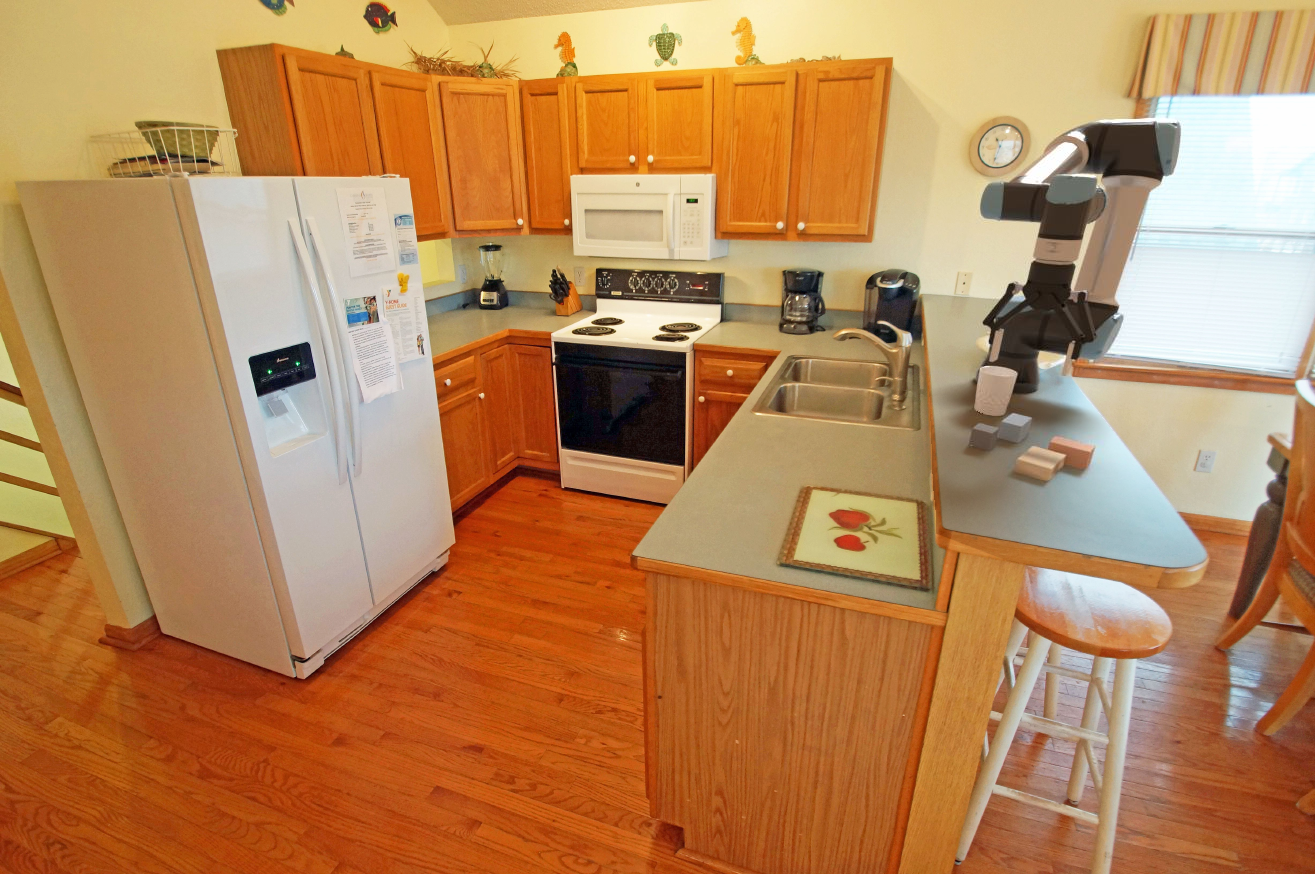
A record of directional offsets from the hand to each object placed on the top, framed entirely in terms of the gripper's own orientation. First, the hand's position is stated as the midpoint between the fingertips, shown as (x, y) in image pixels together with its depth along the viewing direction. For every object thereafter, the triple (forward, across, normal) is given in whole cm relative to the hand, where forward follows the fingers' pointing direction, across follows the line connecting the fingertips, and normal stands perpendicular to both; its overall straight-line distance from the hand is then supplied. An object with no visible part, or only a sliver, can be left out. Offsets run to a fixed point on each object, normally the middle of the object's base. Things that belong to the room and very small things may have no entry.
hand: (1028, 367), depth 132 cm
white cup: (+16, -9, +14) cm, 23 cm away
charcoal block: (+16, -3, -8) cm, 18 cm away
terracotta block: (+16, +12, -4) cm, 21 cm away
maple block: (+16, +9, -12) cm, 22 cm away
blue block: (+16, 0, +2) cm, 16 cm away
